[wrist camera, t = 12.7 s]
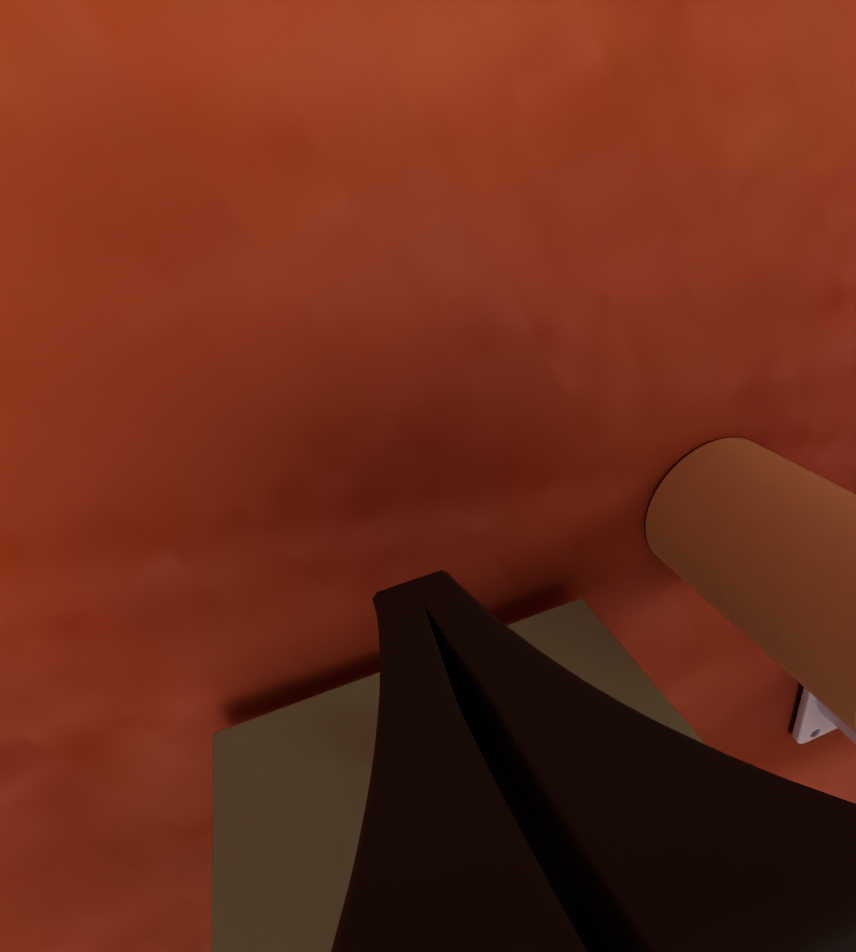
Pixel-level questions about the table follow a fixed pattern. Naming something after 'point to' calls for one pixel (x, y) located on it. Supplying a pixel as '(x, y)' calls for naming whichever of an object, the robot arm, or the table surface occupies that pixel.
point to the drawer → (347, 790)
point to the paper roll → (767, 558)
